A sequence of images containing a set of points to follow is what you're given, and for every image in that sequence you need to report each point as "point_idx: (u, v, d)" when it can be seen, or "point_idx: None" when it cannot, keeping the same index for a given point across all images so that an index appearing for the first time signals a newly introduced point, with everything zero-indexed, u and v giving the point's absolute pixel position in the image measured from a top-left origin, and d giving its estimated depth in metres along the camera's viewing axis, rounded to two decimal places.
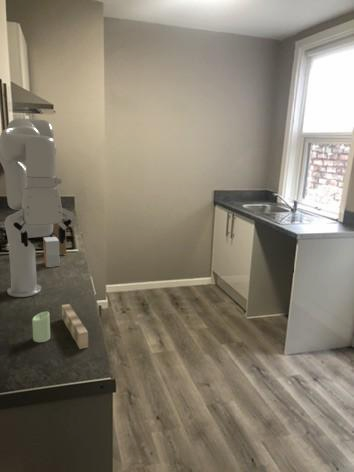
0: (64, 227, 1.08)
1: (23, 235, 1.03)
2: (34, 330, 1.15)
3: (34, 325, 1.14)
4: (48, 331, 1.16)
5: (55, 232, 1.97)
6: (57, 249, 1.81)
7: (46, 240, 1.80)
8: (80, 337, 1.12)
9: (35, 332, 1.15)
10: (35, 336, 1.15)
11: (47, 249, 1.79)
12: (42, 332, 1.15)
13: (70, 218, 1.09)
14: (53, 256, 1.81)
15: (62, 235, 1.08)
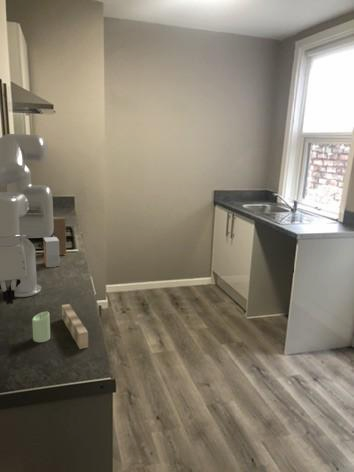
0: (13, 288, 1.08)
1: (5, 293, 1.08)
2: (34, 330, 1.15)
3: (34, 325, 1.14)
4: (48, 331, 1.16)
5: (55, 232, 1.97)
6: (57, 249, 1.81)
7: (46, 240, 1.80)
8: (80, 337, 1.12)
9: (35, 332, 1.15)
10: (35, 336, 1.15)
11: (47, 249, 1.79)
12: (42, 332, 1.15)
13: (21, 280, 1.10)
14: (53, 256, 1.81)
15: (11, 296, 1.08)
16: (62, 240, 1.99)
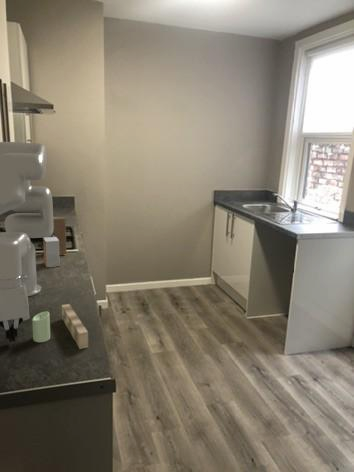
0: (15, 326, 1.11)
1: (7, 332, 1.11)
2: (34, 330, 1.15)
3: (34, 325, 1.14)
4: (48, 331, 1.16)
5: (55, 232, 1.97)
6: (57, 249, 1.81)
7: (46, 240, 1.80)
8: (80, 337, 1.12)
9: (35, 332, 1.15)
10: (35, 336, 1.15)
11: (47, 249, 1.79)
12: (42, 332, 1.15)
13: (24, 318, 1.13)
14: (53, 256, 1.81)
15: (13, 334, 1.11)
16: (62, 240, 1.99)
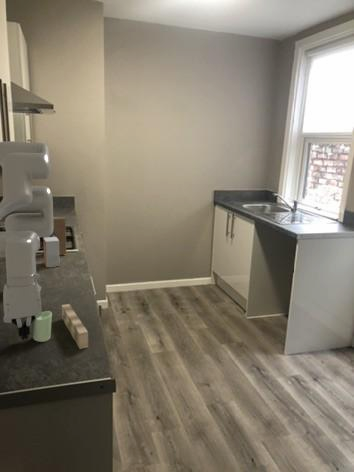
0: (28, 323, 1.13)
1: (20, 329, 1.13)
2: (35, 329, 1.15)
3: (36, 324, 1.14)
4: (49, 331, 1.16)
5: (55, 232, 1.97)
6: (57, 249, 1.81)
7: (46, 240, 1.80)
8: (80, 337, 1.12)
9: (36, 331, 1.15)
10: (36, 335, 1.15)
11: (47, 249, 1.79)
12: (43, 331, 1.15)
13: (36, 316, 1.14)
14: (53, 256, 1.81)
15: (26, 331, 1.13)
16: (62, 240, 1.99)
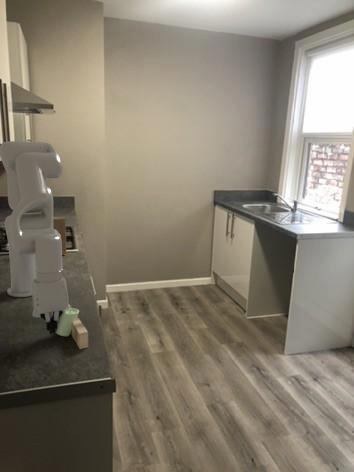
0: (56, 318, 1.17)
1: (48, 324, 1.16)
2: (60, 321, 1.18)
3: (62, 317, 1.17)
4: (71, 328, 1.19)
5: None
6: None
7: None
8: (80, 337, 1.12)
9: (60, 324, 1.17)
10: (58, 328, 1.18)
11: None
12: (66, 326, 1.17)
13: (63, 311, 1.18)
14: None
15: (54, 326, 1.16)
16: (62, 240, 1.99)
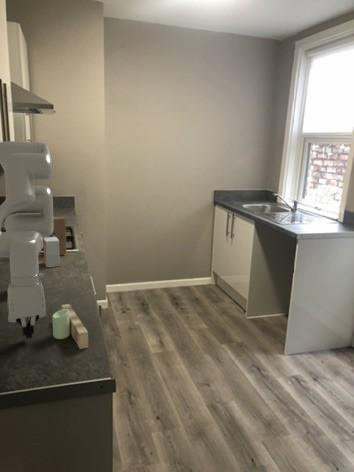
0: (32, 323, 1.14)
1: (24, 329, 1.13)
2: (54, 327, 1.17)
3: (54, 322, 1.17)
4: (67, 328, 1.19)
5: (55, 232, 1.97)
6: (57, 249, 1.81)
7: (46, 240, 1.80)
8: (80, 337, 1.12)
9: (55, 329, 1.17)
10: (55, 333, 1.18)
11: (47, 249, 1.79)
12: (61, 329, 1.17)
13: (40, 315, 1.15)
14: (53, 256, 1.81)
15: (30, 331, 1.14)
16: (62, 240, 1.99)
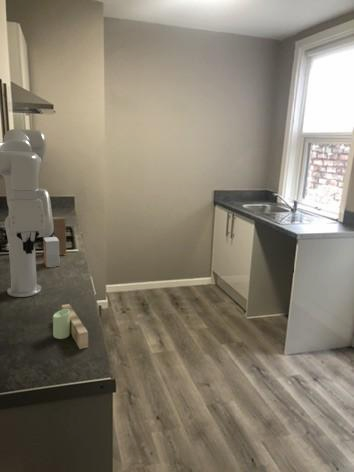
0: (32, 239, 1.19)
1: (25, 244, 1.18)
2: (54, 326, 1.17)
3: (54, 321, 1.17)
4: (68, 328, 1.19)
5: (55, 232, 1.97)
6: (57, 249, 1.81)
7: (46, 240, 1.80)
8: (80, 337, 1.12)
9: (55, 329, 1.17)
10: (55, 332, 1.18)
11: (47, 249, 1.79)
12: (61, 328, 1.17)
13: (40, 232, 1.20)
14: (53, 256, 1.81)
15: (30, 246, 1.19)
16: (62, 240, 1.99)
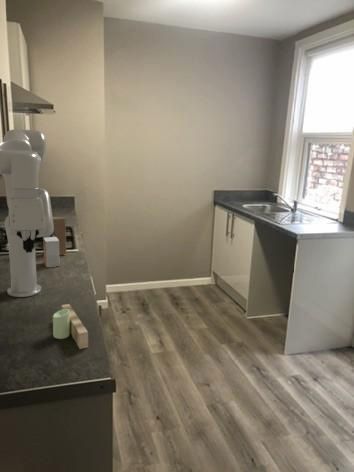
0: (32, 237, 1.19)
1: (25, 243, 1.18)
2: (54, 326, 1.17)
3: (54, 321, 1.17)
4: (67, 328, 1.19)
5: (55, 232, 1.97)
6: (57, 249, 1.81)
7: (46, 240, 1.80)
8: (80, 337, 1.12)
9: (55, 329, 1.17)
10: (55, 332, 1.18)
11: (47, 249, 1.79)
12: (61, 328, 1.17)
13: (40, 231, 1.20)
14: (53, 256, 1.81)
15: (30, 245, 1.19)
16: (62, 240, 1.99)
